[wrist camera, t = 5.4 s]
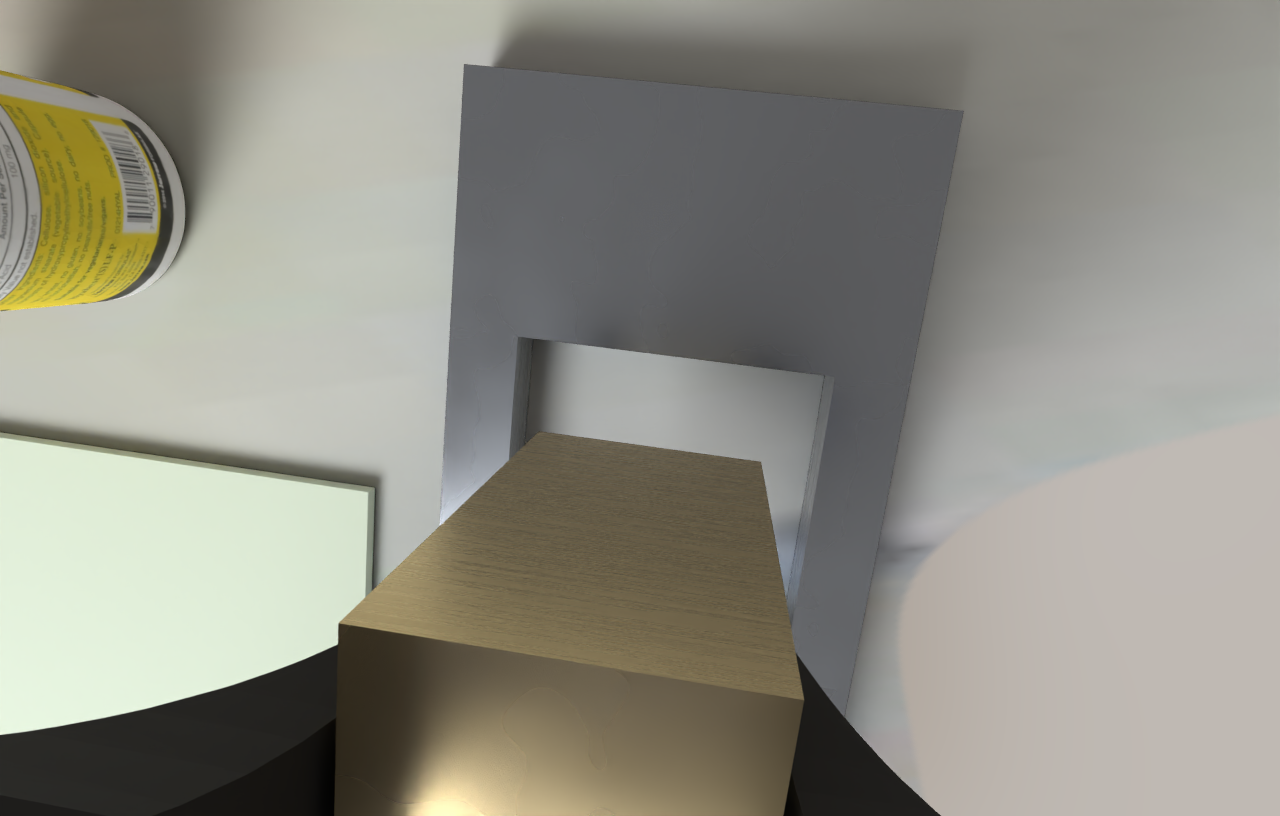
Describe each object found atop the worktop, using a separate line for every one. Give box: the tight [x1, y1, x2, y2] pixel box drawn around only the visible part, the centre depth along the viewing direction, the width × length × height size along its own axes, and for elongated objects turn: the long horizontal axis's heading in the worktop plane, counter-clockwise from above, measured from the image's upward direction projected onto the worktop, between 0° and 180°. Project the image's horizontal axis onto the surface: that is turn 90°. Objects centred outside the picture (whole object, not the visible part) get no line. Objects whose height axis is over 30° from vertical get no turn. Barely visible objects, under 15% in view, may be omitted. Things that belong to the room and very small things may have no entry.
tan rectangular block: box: [334, 431, 804, 816], centre depth 10 cm, size 6×4×7 cm, turn 174°
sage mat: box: [0, 432, 375, 735], centre depth 23 cm, size 16×14×1 cm
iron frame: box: [440, 64, 964, 716], centre depth 19 cm, size 20×11×2 cm, turn 174°
